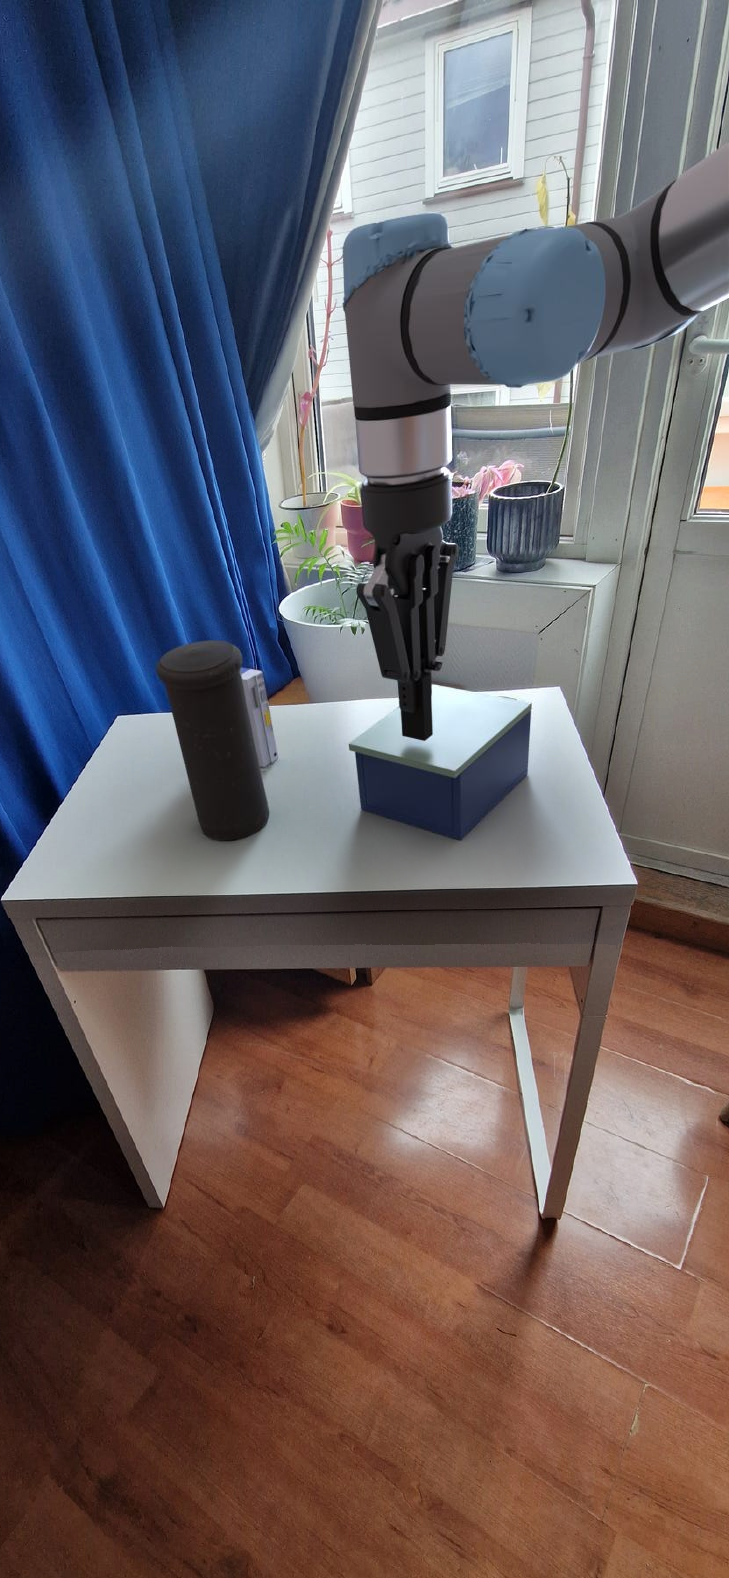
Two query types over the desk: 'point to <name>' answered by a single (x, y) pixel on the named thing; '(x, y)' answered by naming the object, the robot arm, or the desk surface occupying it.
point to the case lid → (445, 731)
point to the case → (445, 786)
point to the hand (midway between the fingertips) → (417, 735)
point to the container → (215, 737)
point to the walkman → (259, 716)
